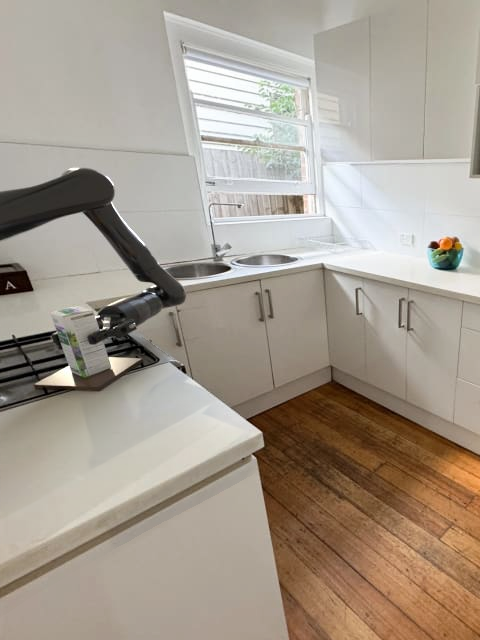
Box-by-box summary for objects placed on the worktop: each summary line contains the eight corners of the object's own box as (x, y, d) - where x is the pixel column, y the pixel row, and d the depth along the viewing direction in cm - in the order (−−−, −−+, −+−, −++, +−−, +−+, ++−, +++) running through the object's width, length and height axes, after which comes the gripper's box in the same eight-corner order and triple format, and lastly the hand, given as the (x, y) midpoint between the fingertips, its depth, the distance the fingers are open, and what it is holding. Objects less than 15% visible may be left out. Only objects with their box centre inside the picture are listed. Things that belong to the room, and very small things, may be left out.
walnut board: (34, 388, 81) (33, 384, 81) (87, 359, 94) (86, 356, 94) (99, 391, 81) (98, 387, 81) (143, 361, 94) (142, 358, 94)
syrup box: (70, 372, 86) (46, 312, 80) (99, 362, 91) (79, 304, 85) (84, 378, 84) (61, 317, 78) (113, 367, 89) (94, 308, 83)
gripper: (93, 299, 96) (32, 322, 80) (150, 301, 96) (99, 325, 80) (102, 327, 99) (45, 354, 84) (157, 328, 99) (110, 356, 84)
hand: (72, 340), depth 82 cm, fingers closed on syrup box, 7 cm apart
